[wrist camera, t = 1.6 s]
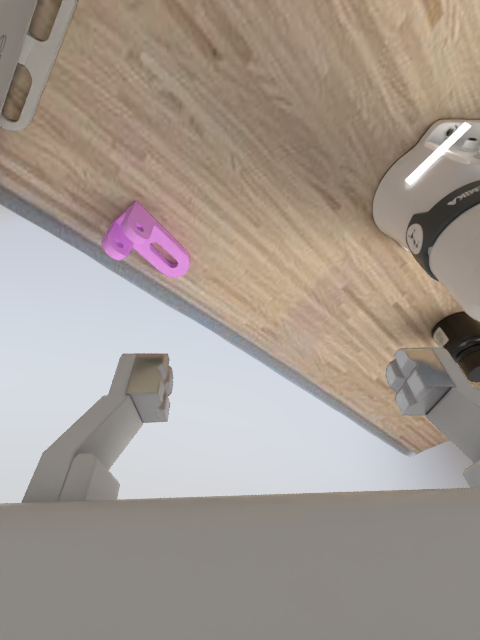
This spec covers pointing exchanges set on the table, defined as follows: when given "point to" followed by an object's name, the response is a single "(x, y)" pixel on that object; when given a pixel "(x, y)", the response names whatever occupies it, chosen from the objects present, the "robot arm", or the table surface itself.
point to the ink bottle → (461, 342)
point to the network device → (28, 52)
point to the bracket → (144, 241)
